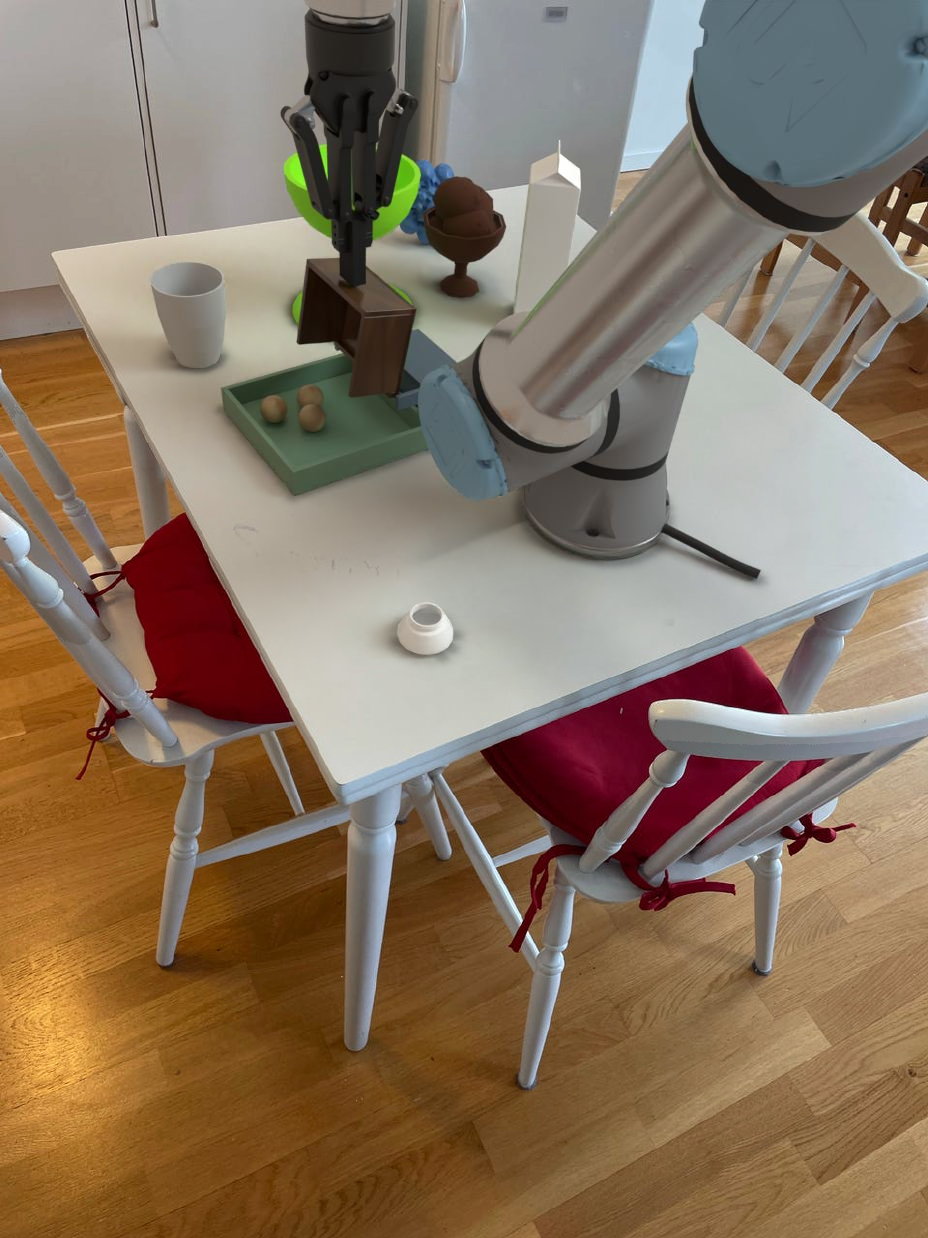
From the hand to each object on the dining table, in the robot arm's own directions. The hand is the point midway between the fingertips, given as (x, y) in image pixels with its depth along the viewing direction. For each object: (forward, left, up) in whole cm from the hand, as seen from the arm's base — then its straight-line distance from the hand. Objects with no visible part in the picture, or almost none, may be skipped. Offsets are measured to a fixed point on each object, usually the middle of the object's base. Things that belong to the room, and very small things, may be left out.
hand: (352, 279), depth 96 cm
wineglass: (+21, -12, -17) cm, 30 cm away
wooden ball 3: (0, +5, -15) cm, 16 cm away
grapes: (+32, -31, -17) cm, 48 cm away
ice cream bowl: (+20, -28, -17) cm, 38 cm away
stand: (0, -6, -17) cm, 18 cm away
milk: (+8, -32, -17) cm, 37 cm away
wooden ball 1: (+3, +8, -15) cm, 17 cm away
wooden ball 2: (+3, +4, -15) cm, 16 cm away
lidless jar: (-32, +11, -17) cm, 38 cm away
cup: (+20, +10, -17) cm, 28 cm away
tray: (0, +3, -17) cm, 17 cm away
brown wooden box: (0, -3, -6) cm, 7 cm away
